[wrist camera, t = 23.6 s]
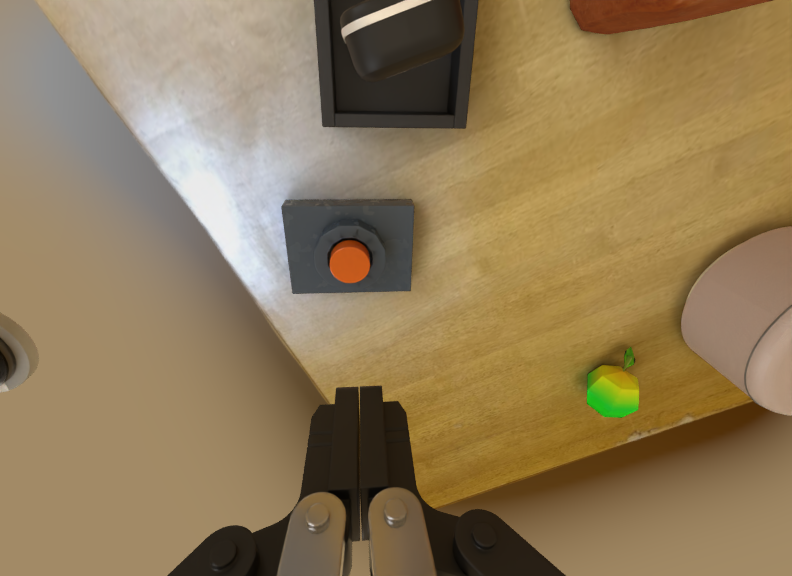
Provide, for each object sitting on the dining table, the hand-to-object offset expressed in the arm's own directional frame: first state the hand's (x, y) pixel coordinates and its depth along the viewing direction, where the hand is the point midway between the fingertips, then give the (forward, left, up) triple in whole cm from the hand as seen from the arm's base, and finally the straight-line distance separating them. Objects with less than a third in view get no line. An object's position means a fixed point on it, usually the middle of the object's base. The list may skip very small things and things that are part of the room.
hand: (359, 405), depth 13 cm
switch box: (-1, -5, -27) cm, 27 cm away
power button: (-1, -5, -23) cm, 24 cm away
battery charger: (+3, +12, -27) cm, 29 cm away
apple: (+31, -23, -27) cm, 47 cm away
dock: (+3, +12, -27) cm, 30 cm away
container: (+46, -12, -27) cm, 55 cm away
